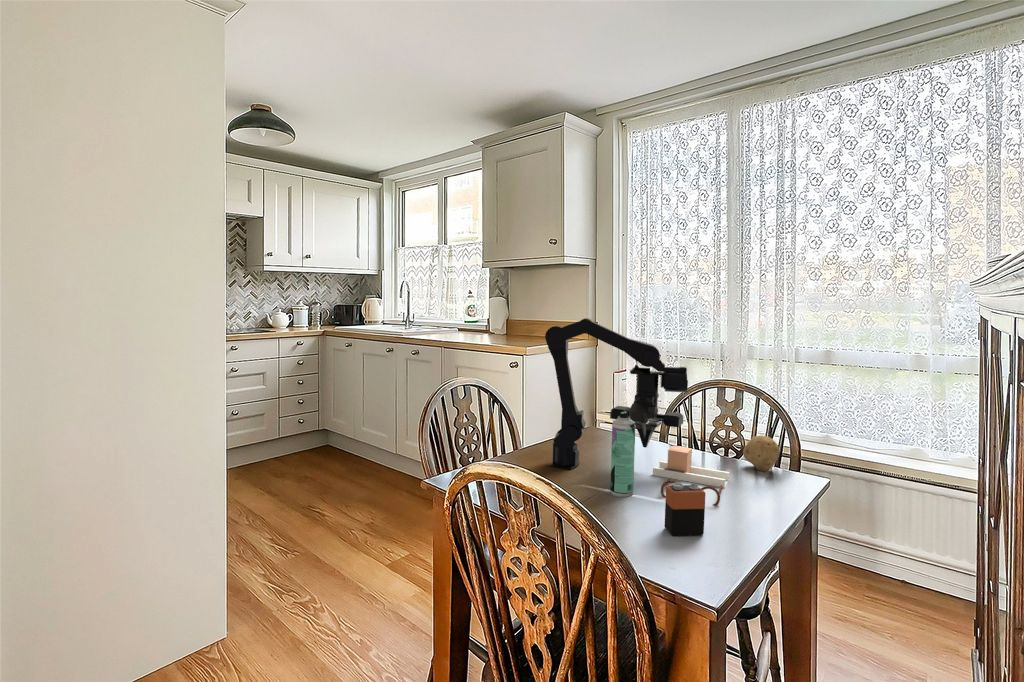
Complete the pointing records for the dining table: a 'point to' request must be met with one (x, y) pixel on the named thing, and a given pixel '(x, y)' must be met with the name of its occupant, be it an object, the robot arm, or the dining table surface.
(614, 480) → the spray can
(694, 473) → the chute
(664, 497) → the glasses
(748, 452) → the natural sponge
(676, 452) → the block
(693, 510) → the battery
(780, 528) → the dining table surface
